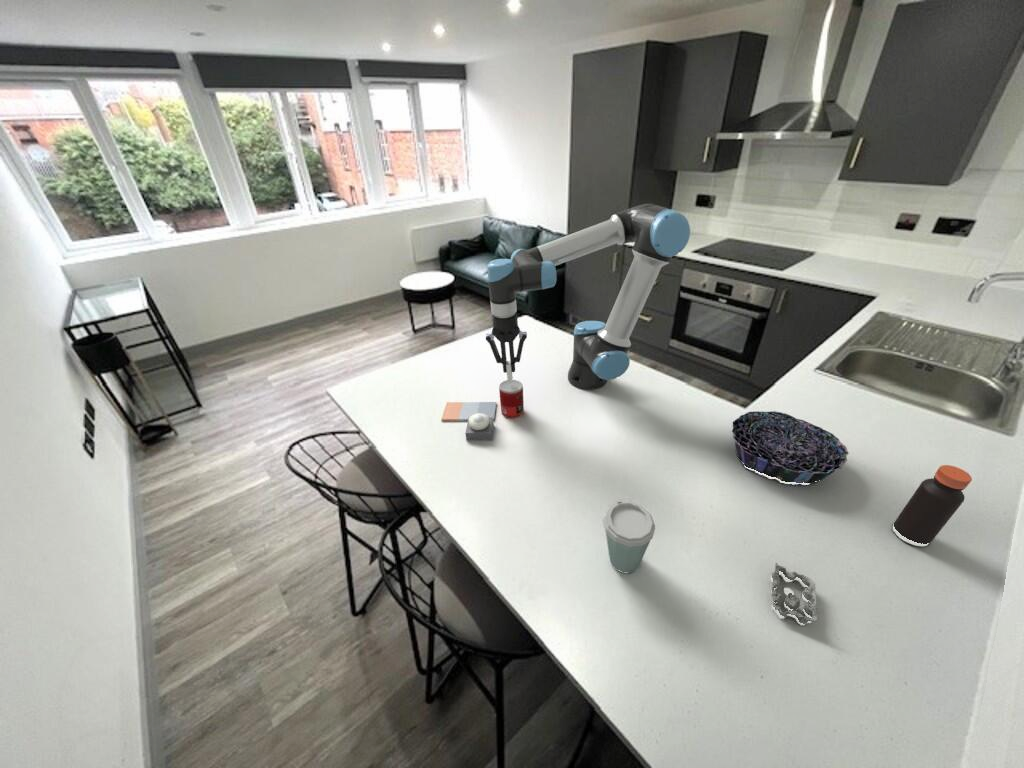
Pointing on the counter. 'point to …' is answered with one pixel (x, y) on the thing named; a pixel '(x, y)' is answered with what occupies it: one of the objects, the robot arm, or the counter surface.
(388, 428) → the counter surface
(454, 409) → the flat rectangular panel
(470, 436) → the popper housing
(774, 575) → the grey lumpy piece
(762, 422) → the decorative bowl
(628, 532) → the disposable coffee cup
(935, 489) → the bottle
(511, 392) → the canned food
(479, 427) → the dome button
